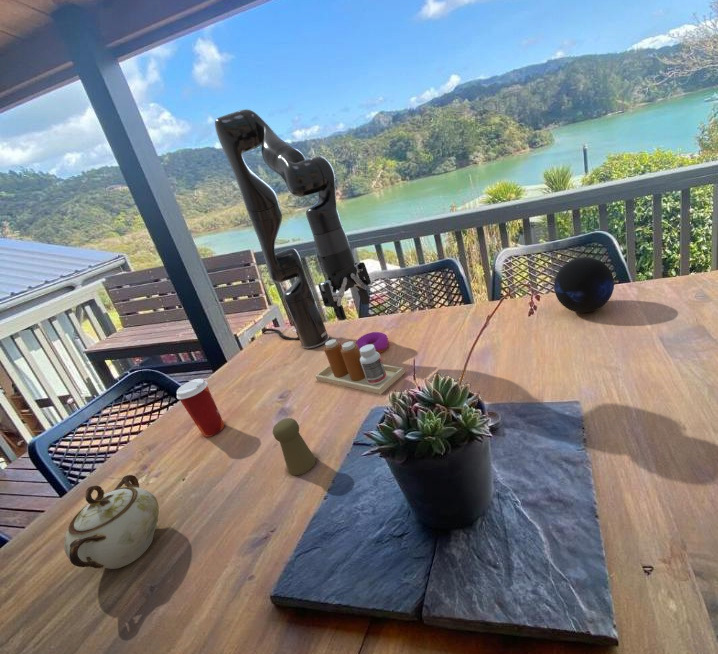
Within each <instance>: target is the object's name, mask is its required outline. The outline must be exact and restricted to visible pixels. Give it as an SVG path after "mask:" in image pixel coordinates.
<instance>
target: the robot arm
mask: <svg viewBox="0 0 718 654" xmlns="http://www.w3.org/2000/svg"><path fill="white" fill-rule="evenodd" d="M214 128H215V132H216V136H217V138H218V140H219V143H220V145H221V146H220V147H222V150H223V152H224V154H225V157H226V159H227V162H228V163H229V166H230V168H231V171H232V173H233V175H234V177H235V180H236V182H237V185H238V188H239V191H240V194H241V197H242V200H243V203H244V206H245V209H246V212H247V214H248V217H249V220H250V222H251V225H252V227H253V230H254V232H255V234H256V237H257V239H258V242H259V245H260V249H261V252H262V255H263V258H264V262H265V266H266V269H267V272H268V274H269V277H270V278H271V279H272V281H273V282H274V283H276V284H280V283H284V282H286V281H289V280H293V279H295V281H294V282H293V284H292V285H291V286H290V287H288V288H287V289H286V290H285V291H284V293H283V299H284V301H285V304H286V306H287V309H288V311H289V313H290V316H291V318H292V324H293V326H294V329H295V333H296V337H290V336H286V335H284V334H282V331H280V330H279V329H277V328H276V329H275V328H265V329H263V330H262V331H261V335H264V334H265V333H266V332H273V333H274V332H275V333H277V334H278V336H279V338H282V339H284V340H289V341H298V340H299V341H300V344H301V346H302V347H303V348H304V349H308V350H309V349H315V348H318V347H320V346H323V345H325V343H326V342H327V341H329V340H330V335H329V334H328V332H327V329H326V325H325V323H324V320H323V317H322V315H321V312H320V309H319V307H318V304H317V301H316V299H315V296H314V293H313V290H312V287H311V286H310V283H309V279H308V276H307V274H306V270H305V267H304V264H303V261H302V258H301V256H300V254H299V252H298V250H297V249H296V248H294V247H291V248H287V249H284V250H281V251H278V252H276V251H275V248H276V247H275V246H276V240H277V238H278V234H279V232H280V227H281V225H282V222H283V212H282V211H283V210H282V208H281V205H280V202H279V199H278V195H277V193H276V192H275V190H274V189H273V187H271V186H270V185H269V184H268V183H267V182H265V181H264V180H263V179H262V178H260V177H259V176H257V174H255V173H254V172H253V171H252V170H251V168H249V166H248V165H247V163H246V161H245V159H244V157H243V154H244V153H247V152H249V151H253V150H255V149H258V148H259V147H261V156H262V157H261V158H262V159H263V162H264V163H265V165H266V166H267V167H268V168H269V169H270V170H272V171H273V172H275V173H276V174H278V175H279V176H280V178H282V180H283V182H284V183H285V185H286V187H287V190H288V191H289V192H290V194H292V195H293V196H295V197H298V198H304V197H308V196H311V195H315V194H318V197H317V201H316V202H315V203H314V204H313V205H311V206H309V207H308V208H307V209H306V211H305V216H306V219H307V222H308V225H309V227H310V231H311V234H312V236H313V242H314V245H315V248H316V252H317V254H318V257H319V260H320V263H321V266H322V268H323V269H322V270H323V271H324V273H325V275H326V276H327V280H326V281H324V282H318V289H319V293H320V296H321V299H322V302H323V305H324V307H325V308H333V312H334V314H335V316H336V318H337V319H338V320H339V321H345V320H346V319H347V315H346V312H345V309H344V306H343V304H342V300H343V298H344V297H345V292H348V291H349V290H350V289H352V288H355V289H357V293H358V297H359V299H360V303H361V304H362V305H365V306H366V305H369V304H370V297H369V292H368V290H367V289H368V286H369V285H371V284H372V280H371V278H370V275H369V272H368V269H367V267H366V264H365V262H364V261H363V262H362V261H361V262H355V261H356V260H355V258H354V254H353V251H352V249H351V245H350V242H349V239H348V236H347V234H346V231H345V229H344V227H343V224H342V221H341V217H340V214H339V211H338V207H337V206H338V205H337V194H336V176H335V172H334V168H333V166H332V165H331V163H330V162H329V160H327V159H326V158H325V157H324V156H313V157H311V158H307V159H306V157H305V156H304V154H303V153H302V152H301V151H300V150H299V149H297V148H296V147H294V146H293V145H291V144H290V143H288V142H286V141H285V140H283V139H282V138H281V137H280V136H279V135H278V134H277V133H276V132H275V131H274V130H273V128H271V127H270V125H269V124H268V123H267V122H266V121H265V120H264V119H263V118H262V117H261V116H259V115H258V113H256V112H255V111H253V110H251V109H248V108H246V109H241V110H237V111H234V112H231V113H228V114H225V115H222V116H219V117H217V118H216V119H215V121H214ZM337 291H338V292H337Z"/></svg>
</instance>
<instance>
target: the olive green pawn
mask: <svg viewBox="0 0 718 654" xmlns="http://www.w3.org/2000/svg"><path fill="white" fill-rule="evenodd" d="M272 435H273V437H274V439H275V440H276V441H278V442H279V444H280V449H281V451H282V456H283V458H284V462H285V465H286V469H287V472H288V473H289V474H290V475H291V476H300V475H303V474H305V473H307V472H309V471H310V470H311V469H312V468H313V467H314V466H315V464H316V461H317V460H316V457H315V456H314V453H313V452H312V451H311V449H310V447H309V446H308V445H307V443H306V441H305V439H304V438H303V437H302V435H301V434H300V425H299V423H298V422H297V420H296V419H294V418H293V417H286V418H283V419H281V420H279V421H277V422H276V423H275V424H274V426H273V428H272Z"/></svg>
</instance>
